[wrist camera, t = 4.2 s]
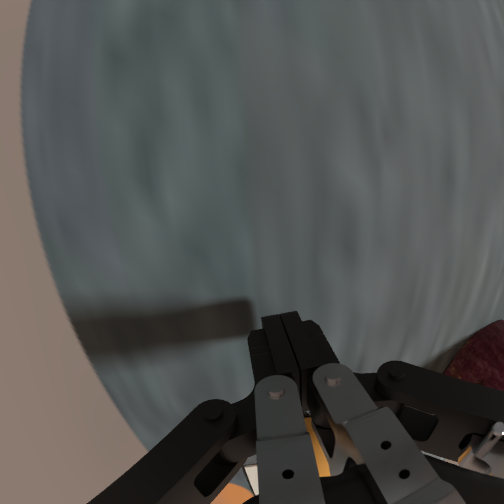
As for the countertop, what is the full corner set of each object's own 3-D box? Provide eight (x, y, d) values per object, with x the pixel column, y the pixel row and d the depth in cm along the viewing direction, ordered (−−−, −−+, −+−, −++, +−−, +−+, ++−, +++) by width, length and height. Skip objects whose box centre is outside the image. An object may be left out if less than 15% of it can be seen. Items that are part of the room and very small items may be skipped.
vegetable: (412, 351, 20) (492, 482, 6) (498, 291, 18) (607, 362, 3) (430, 419, 21) (477, 523, 7) (504, 368, 19) (572, 445, 4)
